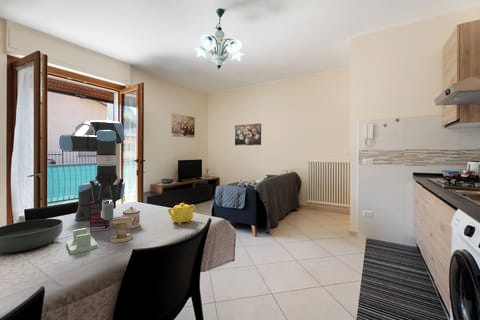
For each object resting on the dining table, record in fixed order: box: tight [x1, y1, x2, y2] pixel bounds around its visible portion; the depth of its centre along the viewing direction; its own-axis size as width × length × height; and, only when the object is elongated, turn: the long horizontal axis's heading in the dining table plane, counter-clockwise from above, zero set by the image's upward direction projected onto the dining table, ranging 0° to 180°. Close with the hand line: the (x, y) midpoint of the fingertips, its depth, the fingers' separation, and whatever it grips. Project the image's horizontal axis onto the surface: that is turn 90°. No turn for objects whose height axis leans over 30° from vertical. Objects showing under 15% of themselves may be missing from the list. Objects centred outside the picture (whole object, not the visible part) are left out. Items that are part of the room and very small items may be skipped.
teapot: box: [167, 202, 196, 226], centre depth 139 cm, size 14×14×12 cm
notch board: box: [66, 227, 99, 255], centre depth 103 cm, size 14×10×6 cm
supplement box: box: [89, 200, 111, 232], centre depth 125 cm, size 9×5×16 cm, turn 98°
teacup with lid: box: [122, 205, 141, 230], centre depth 132 cm, size 12×9×12 cm
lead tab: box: [103, 202, 114, 220], centre depth 100 cm, size 6×3×6 cm, turn 43°
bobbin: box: [109, 216, 134, 244], centre depth 112 cm, size 10×10×10 cm
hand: (107, 216), depth 101 cm, fingers closed on lead tab, 3 cm apart
